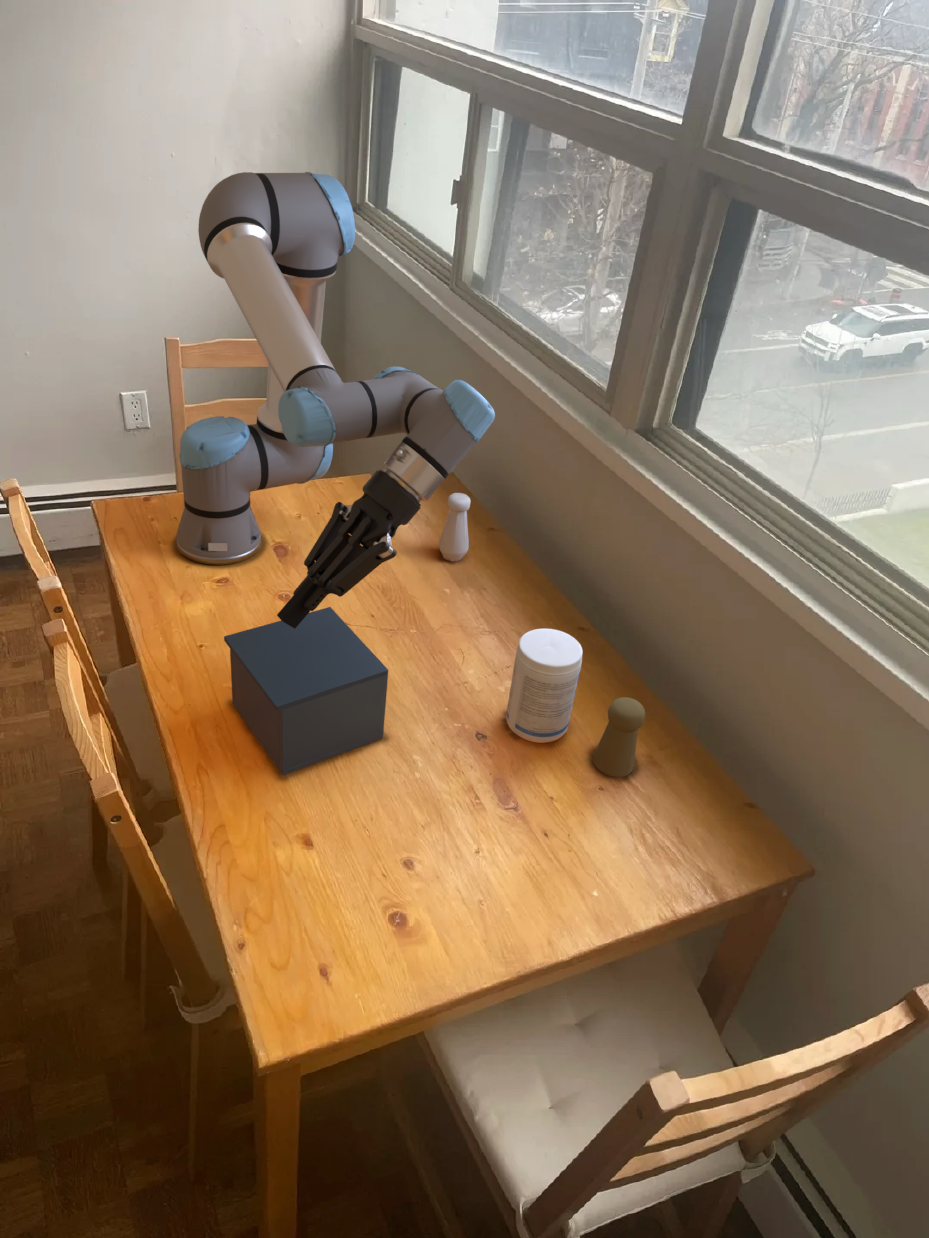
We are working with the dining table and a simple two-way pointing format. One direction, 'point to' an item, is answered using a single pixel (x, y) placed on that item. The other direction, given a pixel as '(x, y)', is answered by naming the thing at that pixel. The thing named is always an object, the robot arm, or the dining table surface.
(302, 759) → the box
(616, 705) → the olive brown pawn
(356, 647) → the lid
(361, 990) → the dining table surface
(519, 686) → the supplement tub
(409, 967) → the dining table surface
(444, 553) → the salt shaker
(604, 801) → the dining table surface
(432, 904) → the dining table surface
